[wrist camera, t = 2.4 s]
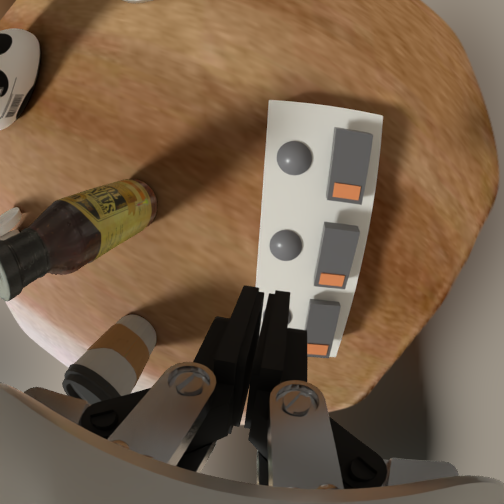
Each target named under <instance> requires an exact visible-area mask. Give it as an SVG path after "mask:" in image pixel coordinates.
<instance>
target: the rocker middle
mask: <svg viewBox="0 0 504 504" xmlns="http://www.w3.org/2000/svg"><path fill="white" fill-rule="evenodd" d="M359 235H360V230H359V228H358V226H355V225H348V224H340V223H332V222H324V224H323V230H322V236H321V242H320V247H319V253H318V258H317V263H316V268H315V273H314V286H317V287H326V288H336V289H345V288H346V284H347V281H348V277H349V274H350V270H351V267H352V263H353V259H354V255H355V252H356V248H357V244H358V240H359Z"/></svg>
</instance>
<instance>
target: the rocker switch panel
mask: <svg viewBox="0 0 504 504" xmlns="http://www.w3.org/2000/svg"><path fill="white" fill-rule="evenodd" d="M382 123H383V116H382V115H378V114H373V113H368V112H363V111H358V110H352V109H346V108H340V107H333V106H327V105H319V104H311V103H302V102H291V101H278V100H269V106H268V121H267V136H266V150H265V165H264V179H263V193H262V207H261V221H260V235H259V248H258V262H257V275H256V287H258V288H259V292H264V301H263V309H262V318H261V326H262V322H263V318H264V313H265V309H266V305H267V300H268V296H269V293H271V294H275V291H276V290H278V291H286V292H290V305H289V317H288V328H294V329H302V330H304V329H305V324H306V318H307V313H308V307H309V301H310V299H316V300H326V301H336V302H339V303H340V306H341V308H340V313H339V318H338V322H337V327H336V331H335V335H334V339H333V344H332V348H331V352H330V356H329V357H336V354H337V351H338V348H339V345H340V342H341V339H342V336H343V332H344V329H345V326H346V322H347V319H348V315H349V312H350V308H351V304H352V301H353V297H354V293H355V289H356V285H357V281H358V277H359V273H360V268H361V264H362V260H363V255H364V250H365V246H366V241H367V236H368V230H369V225H370V220H371V214H372V208H373V202H374V195H375V188H376V181H377V174H378V166H379V157H380V147H381V136H382ZM334 127H339V128H345V129H351V130H357V131H363V132H368V133H371V134H373V141H372V148H371V155H370V161H369V168H368V173H367V179H366V185H365V190H364V195H363V200H362V205H359V204H352V203H345V202H338V201H330V200H327V198H326V190H327V183H328V176H329V168H330V160H331V152H332V143H333V134H334ZM324 222H332V223H340V224H348V225H355V226H358V228H359V230H360V235H359V240H358V244H357V248H356V252H355V255H354V259H353V263H352V267H351V270H350V274H349V277H348V281H347V284H346V288H345V289H336V288H326V287H317V286H314V273H315V268H316V263H317V258H318V253H319V247H320V242H321V236H322V230H323V224H324ZM261 326H260V331H261ZM259 335H260V334H259Z"/></svg>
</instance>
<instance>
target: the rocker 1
mask: <svg viewBox="0 0 504 504" xmlns="http://www.w3.org/2000/svg"><path fill="white" fill-rule="evenodd" d="M340 308H341V306H340V303H339V302H336V301H326V300H316V299H310V301H309V307H308V313H307V318H306V324H305V329H304V330H307V356H308V357H320V358H329V356H330V352H331V348H332V344H333V339H334V335H335V331H336V327H337V322H338V318H339V313H340Z"/></svg>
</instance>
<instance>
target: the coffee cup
mask: <svg viewBox="0 0 504 504" xmlns="http://www.w3.org/2000/svg"><path fill="white" fill-rule="evenodd" d="M155 345H156V333H155V330H154V328H153V327H152V325H151V324H150V323H149V322H148V321H147V320H146V319H144V318H142V317H140V316H138V315H133V314H131V315H127V316H124V317H122V318H121V319H120V320H119V321H118V322H117V323H116V324H115V325H113V326H112V327H111V328H110V329H108V330H107V331H106V332H105V333H104V334H103V335H102V336H101V337H100V338H99V339H98V340H97V341H96V342H95V343H94V344H93V345H92V346H91V347H90V348H89V349H88V350H87V352H86V353H85V354H84V355H83V356H82V357H81V358H80V359H78V360H77V361H76V362H75V363H74V364H72V365H70V367H69V369H68V370H67V371H66V373H65V379H64V381H63V383H62V384H63V388H64V391H65V392H66V394H67V395H68V396H71V397H74V398H78V399H82V400H86V401H87V402H88V404H90V405H92V404H94V403H97V402H100V401H104V400H108V399H112V398H116V397H120V396H124V395H127V394H131V391H132V390H133V388H134V387H135V385H136V383H137V381H138V379H139V377H140V375H141V373H142V371H143V369H144V367H145V365H146V363H147V361H148V359H149V357H150V354H151V352H152V351H153V349H154V347H155Z"/></svg>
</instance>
